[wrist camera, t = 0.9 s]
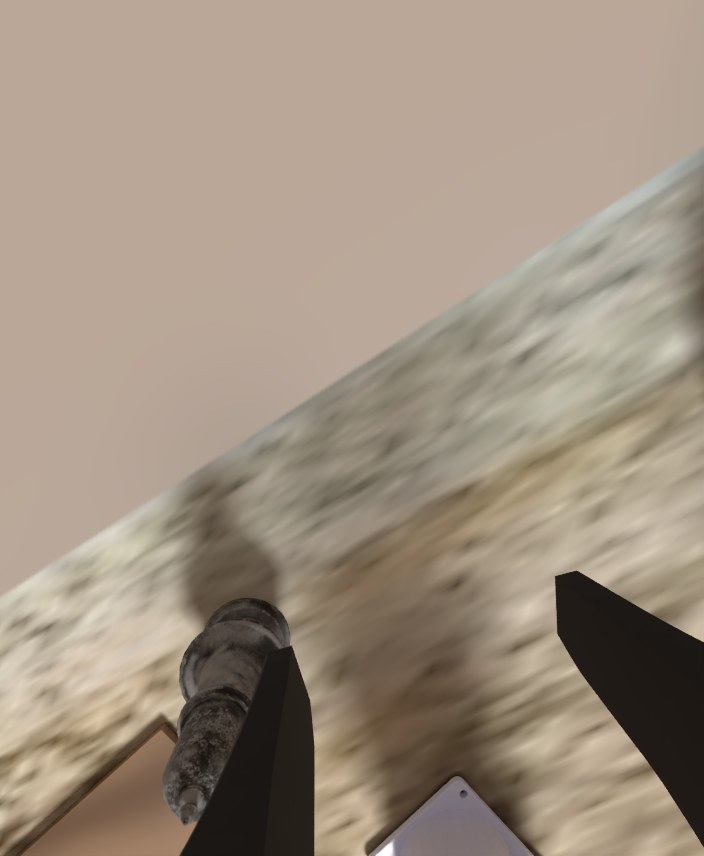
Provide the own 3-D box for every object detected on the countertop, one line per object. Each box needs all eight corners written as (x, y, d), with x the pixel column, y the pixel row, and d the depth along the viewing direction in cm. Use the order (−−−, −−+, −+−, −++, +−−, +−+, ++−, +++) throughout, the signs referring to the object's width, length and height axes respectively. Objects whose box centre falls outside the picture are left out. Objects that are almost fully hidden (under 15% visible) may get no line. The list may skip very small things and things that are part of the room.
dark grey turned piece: (182, 664, 26) (65, 871, 15) (223, 578, 26) (141, 713, 14) (270, 702, 27) (226, 932, 15) (311, 616, 27) (300, 779, 15)
